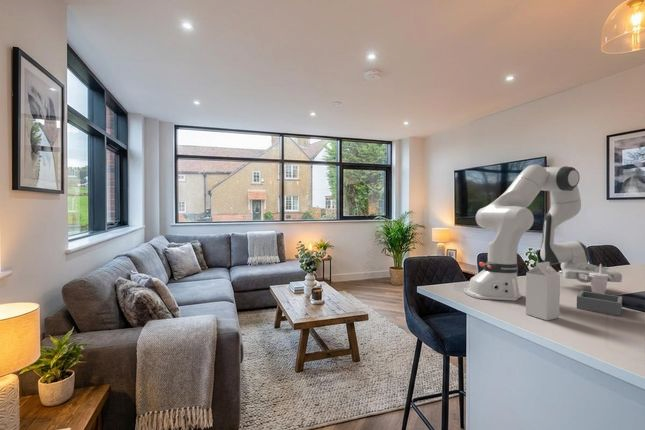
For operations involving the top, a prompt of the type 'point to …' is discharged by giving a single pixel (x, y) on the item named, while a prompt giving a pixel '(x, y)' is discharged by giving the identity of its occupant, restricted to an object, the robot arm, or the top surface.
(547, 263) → the milk carton
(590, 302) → the bin
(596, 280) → the smoothie
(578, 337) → the top surface
